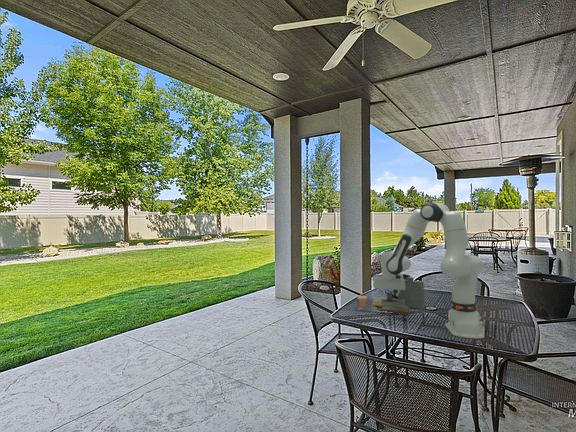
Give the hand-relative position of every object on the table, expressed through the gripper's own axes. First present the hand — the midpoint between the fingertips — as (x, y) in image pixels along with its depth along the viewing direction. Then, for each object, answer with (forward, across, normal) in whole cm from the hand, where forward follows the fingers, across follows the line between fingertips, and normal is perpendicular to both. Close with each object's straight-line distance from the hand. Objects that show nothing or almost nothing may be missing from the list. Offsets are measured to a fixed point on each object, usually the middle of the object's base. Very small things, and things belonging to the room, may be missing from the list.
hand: (389, 295), depth 204 cm
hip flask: (+10, +13, +11) cm, 19 cm away
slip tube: (+7, -3, 0) cm, 7 cm away
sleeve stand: (+9, -5, 0) cm, 11 cm away
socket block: (+8, -18, 0) cm, 19 cm away
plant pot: (+10, +5, +34) cm, 35 cm away
